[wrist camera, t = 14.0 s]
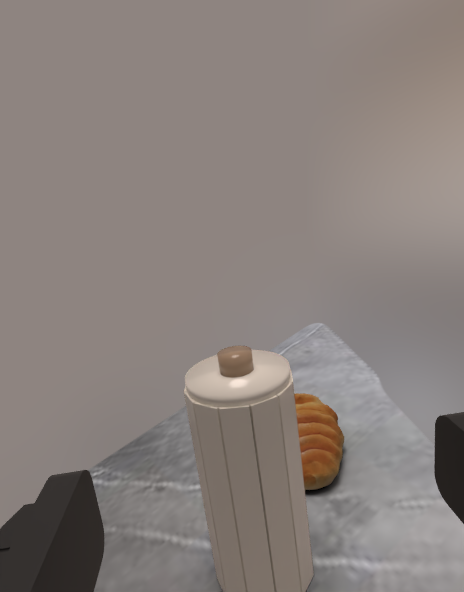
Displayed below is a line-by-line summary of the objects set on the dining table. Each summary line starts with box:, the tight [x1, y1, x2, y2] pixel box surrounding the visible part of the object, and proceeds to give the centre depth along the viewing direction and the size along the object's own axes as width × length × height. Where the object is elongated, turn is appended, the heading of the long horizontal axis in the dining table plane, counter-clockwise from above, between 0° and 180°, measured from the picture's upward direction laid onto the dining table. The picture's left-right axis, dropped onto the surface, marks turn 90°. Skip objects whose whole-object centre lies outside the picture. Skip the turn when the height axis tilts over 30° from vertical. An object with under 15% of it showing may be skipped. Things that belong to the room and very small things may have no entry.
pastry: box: [294, 394, 344, 490], centre depth 32 cm, size 9×7×4 cm
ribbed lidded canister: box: [184, 346, 314, 592], centre depth 22 cm, size 6×6×14 cm
